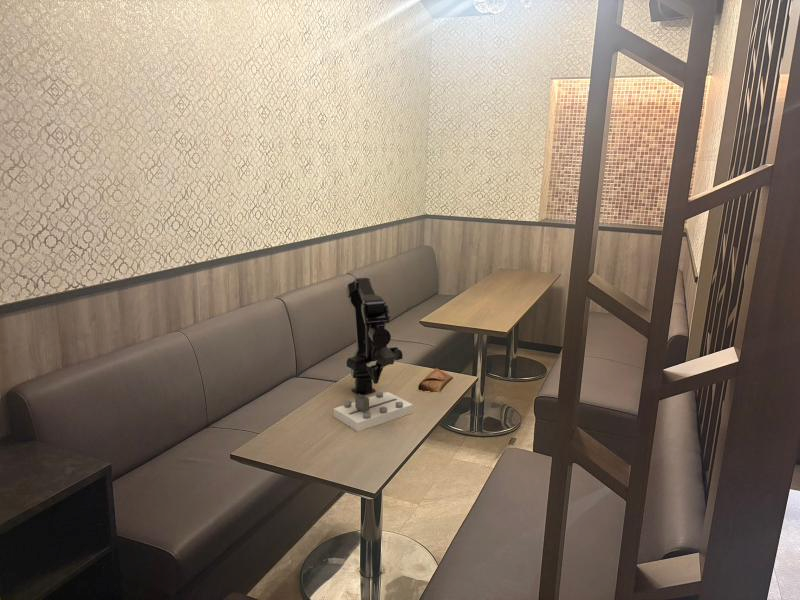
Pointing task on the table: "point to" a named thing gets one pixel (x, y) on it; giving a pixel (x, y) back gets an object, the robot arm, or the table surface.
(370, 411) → the mixer console
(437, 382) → the sunglasses case
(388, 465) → the table surface
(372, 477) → the table surface
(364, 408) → the fader
